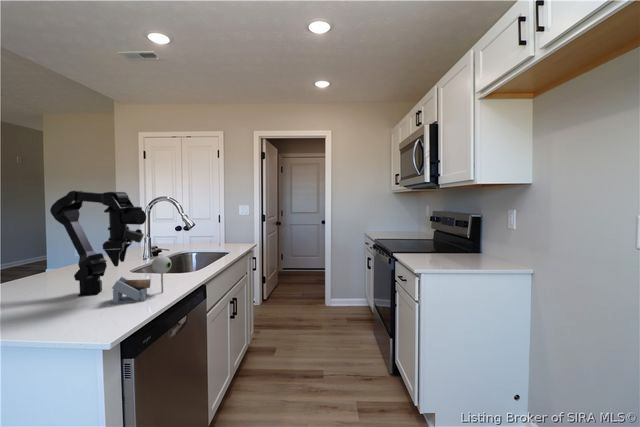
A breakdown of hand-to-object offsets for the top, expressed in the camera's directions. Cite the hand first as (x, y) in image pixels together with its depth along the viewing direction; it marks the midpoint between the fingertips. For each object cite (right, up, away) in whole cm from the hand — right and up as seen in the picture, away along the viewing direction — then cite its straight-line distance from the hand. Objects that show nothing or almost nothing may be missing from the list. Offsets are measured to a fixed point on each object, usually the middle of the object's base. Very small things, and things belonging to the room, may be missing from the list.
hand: (119, 264), depth 125 cm
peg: (+6, -7, -5) cm, 10 cm away
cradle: (+6, -13, -5) cm, 15 cm away
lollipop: (+14, -13, +5) cm, 20 cm away
